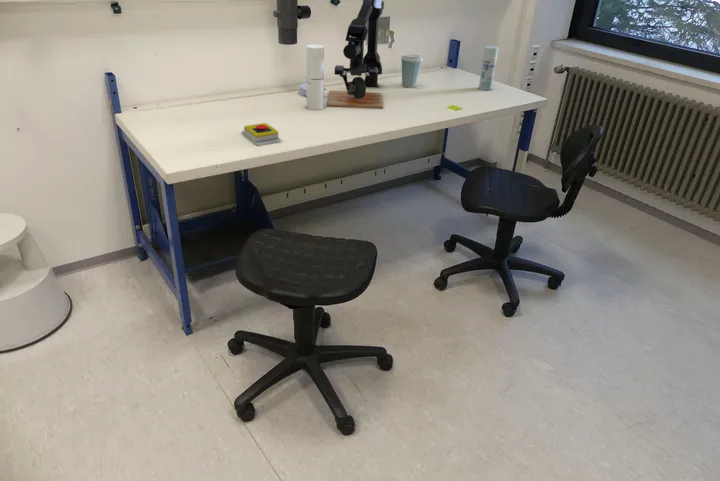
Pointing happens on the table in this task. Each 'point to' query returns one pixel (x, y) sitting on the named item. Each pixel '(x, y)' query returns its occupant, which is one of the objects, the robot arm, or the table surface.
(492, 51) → the spray paint can
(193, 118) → the table surface
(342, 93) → the wooden board
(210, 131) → the table surface
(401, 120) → the table surface
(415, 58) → the disposable coffee cup
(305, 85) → the wedge on round base
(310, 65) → the cylindrical container
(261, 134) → the emergency button
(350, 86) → the caster wheel
